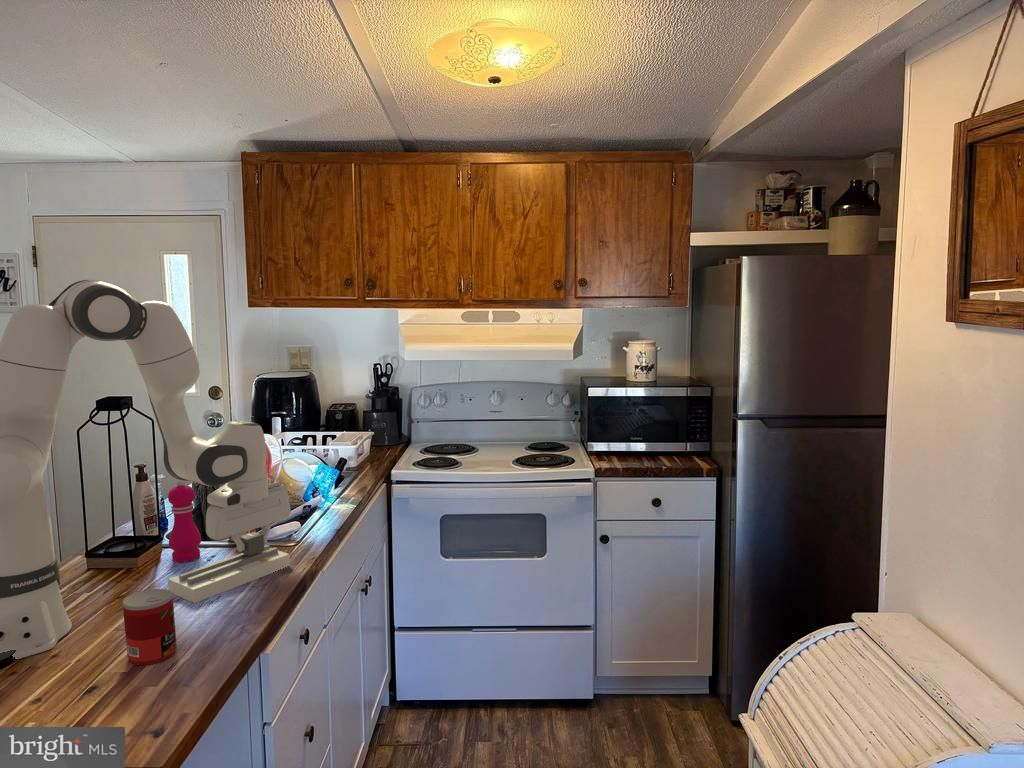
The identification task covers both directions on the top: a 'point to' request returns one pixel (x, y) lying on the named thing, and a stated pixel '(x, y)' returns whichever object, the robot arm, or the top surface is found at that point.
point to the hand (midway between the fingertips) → (252, 546)
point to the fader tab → (253, 543)
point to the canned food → (149, 626)
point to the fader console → (227, 574)
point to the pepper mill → (183, 524)
